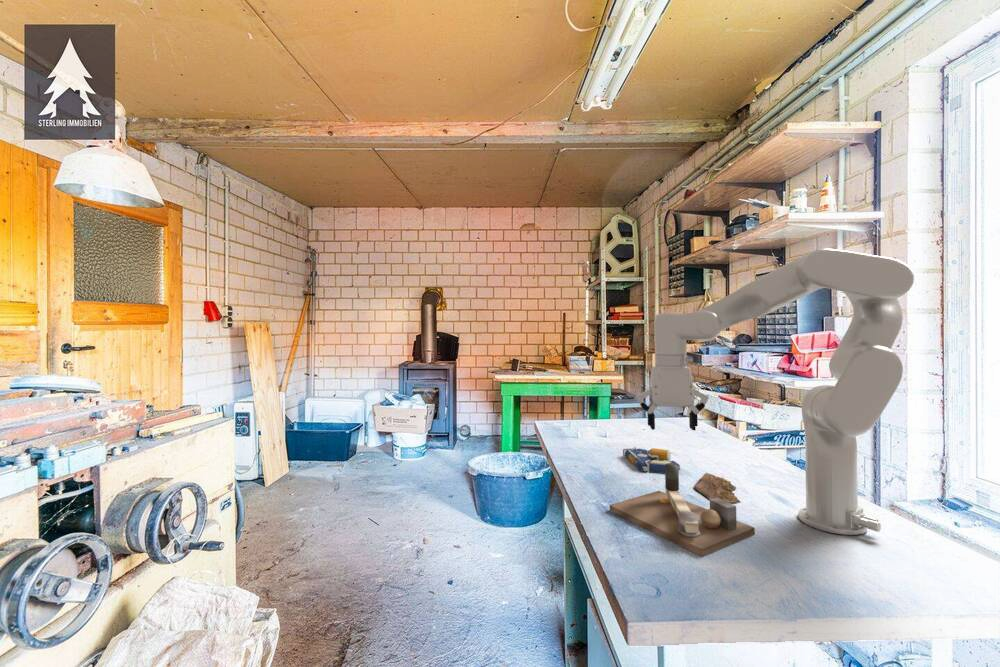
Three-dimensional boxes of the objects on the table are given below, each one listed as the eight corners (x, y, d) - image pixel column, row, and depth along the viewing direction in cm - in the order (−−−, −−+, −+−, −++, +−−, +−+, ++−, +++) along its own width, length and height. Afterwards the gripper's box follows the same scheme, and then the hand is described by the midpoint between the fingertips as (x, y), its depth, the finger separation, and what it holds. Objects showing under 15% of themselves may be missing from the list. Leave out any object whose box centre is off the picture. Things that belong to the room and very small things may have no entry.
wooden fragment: (742, 509, 110) (742, 505, 110) (694, 503, 114) (694, 499, 114) (731, 476, 134) (731, 473, 134) (692, 473, 138) (692, 469, 138)
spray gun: (662, 454, 157) (621, 456, 157) (662, 443, 157) (621, 445, 157) (689, 475, 136) (642, 478, 136) (689, 462, 136) (642, 464, 136)
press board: (754, 534, 96) (754, 504, 96) (702, 556, 87) (701, 524, 87) (659, 496, 119) (658, 472, 119) (609, 510, 110) (609, 485, 110)
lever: (702, 535, 91) (702, 495, 91) (682, 534, 92) (681, 494, 92) (678, 495, 113) (678, 463, 113) (662, 495, 113) (662, 462, 113)
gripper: (703, 360, 113) (704, 426, 113) (633, 360, 116) (635, 425, 116) (711, 362, 105) (713, 433, 106) (637, 363, 109) (638, 431, 109)
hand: (672, 428), depth 111 cm, fingers open, 9 cm apart
